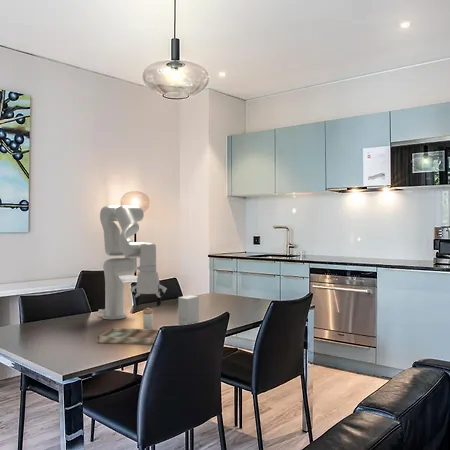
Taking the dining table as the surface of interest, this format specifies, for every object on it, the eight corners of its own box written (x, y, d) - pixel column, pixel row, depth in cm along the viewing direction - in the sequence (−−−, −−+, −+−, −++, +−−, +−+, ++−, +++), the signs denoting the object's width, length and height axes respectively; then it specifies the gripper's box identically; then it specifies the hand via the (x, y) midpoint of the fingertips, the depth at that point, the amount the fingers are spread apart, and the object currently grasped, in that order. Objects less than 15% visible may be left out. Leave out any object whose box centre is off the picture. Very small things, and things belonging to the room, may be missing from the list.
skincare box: (189, 326, 227) (189, 294, 226) (199, 328, 222) (199, 296, 222) (177, 329, 220) (177, 296, 220) (187, 331, 216) (187, 298, 216)
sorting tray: (97, 342, 196) (97, 336, 196) (111, 333, 212) (111, 328, 212) (152, 344, 193) (152, 338, 193) (162, 335, 209) (162, 329, 209)
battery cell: (141, 332, 215) (141, 308, 215) (144, 329, 219) (144, 307, 219) (151, 332, 214) (151, 309, 214) (154, 330, 219) (154, 307, 218)
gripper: (127, 270, 214) (128, 306, 214) (163, 270, 211) (164, 307, 211) (133, 268, 221) (133, 304, 221) (168, 268, 219) (168, 304, 219)
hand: (148, 305), depth 216 cm, fingers open, 9 cm apart
